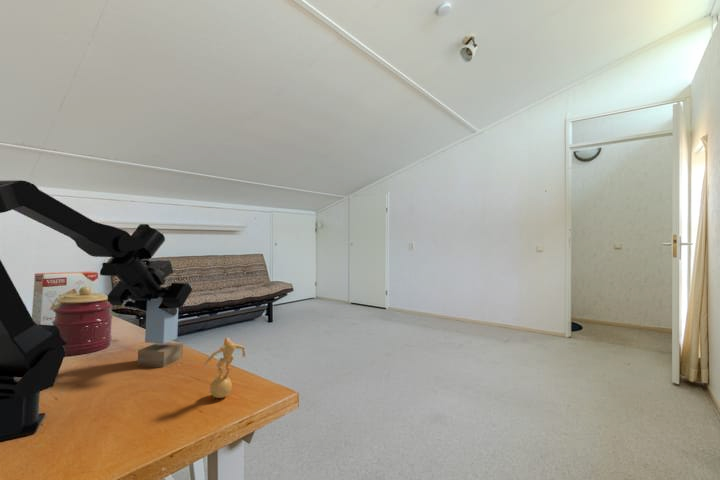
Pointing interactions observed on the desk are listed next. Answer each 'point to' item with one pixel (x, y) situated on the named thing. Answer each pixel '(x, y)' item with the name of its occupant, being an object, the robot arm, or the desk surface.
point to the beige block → (160, 354)
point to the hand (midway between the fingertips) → (166, 313)
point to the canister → (84, 321)
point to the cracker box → (57, 291)
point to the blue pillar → (160, 323)
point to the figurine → (221, 383)
